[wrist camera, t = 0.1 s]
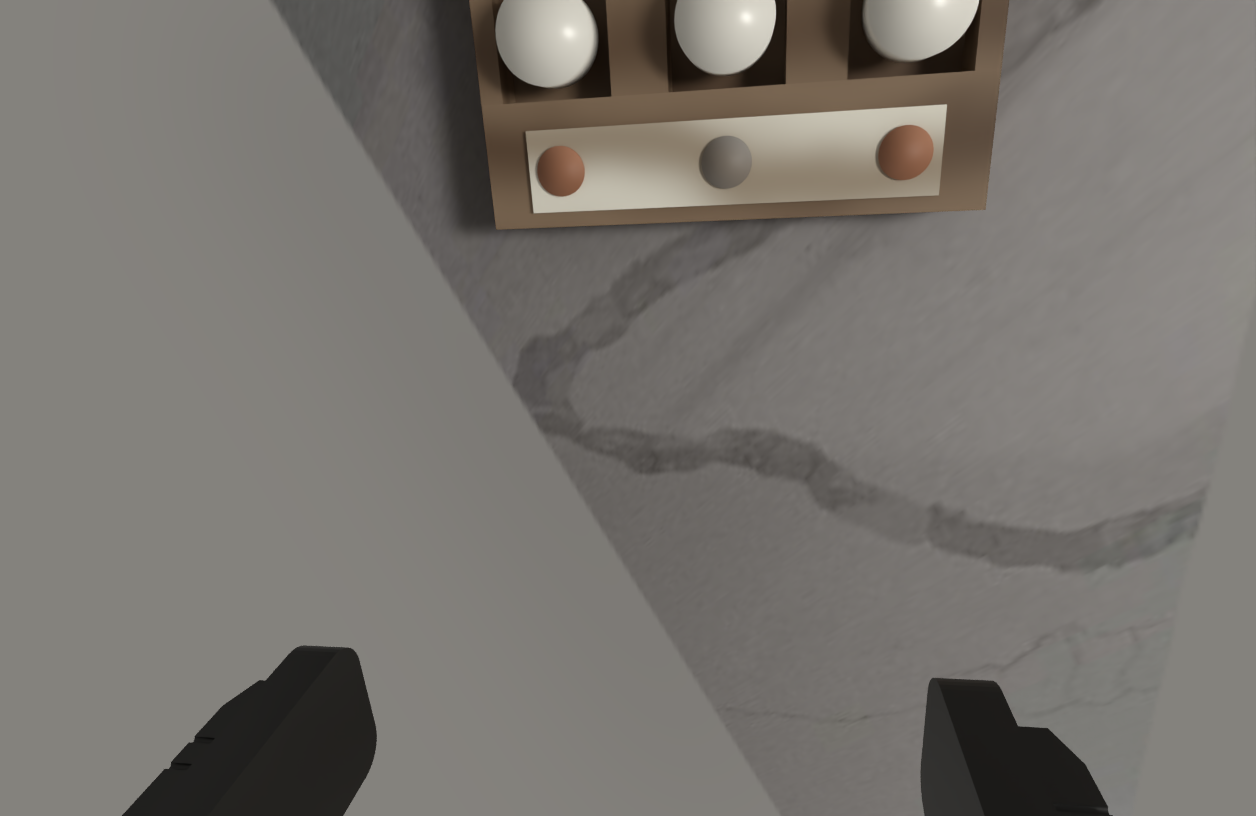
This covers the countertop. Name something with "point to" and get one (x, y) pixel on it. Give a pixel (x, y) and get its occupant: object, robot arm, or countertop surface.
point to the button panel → (741, 123)
